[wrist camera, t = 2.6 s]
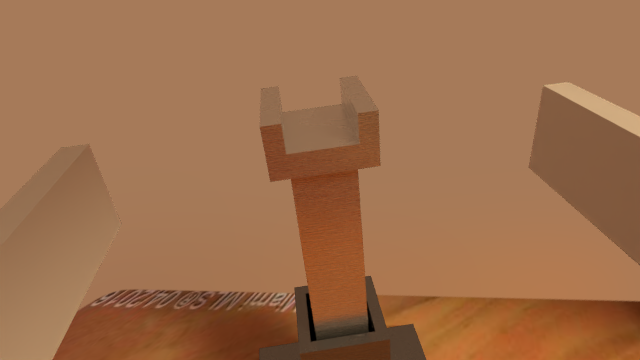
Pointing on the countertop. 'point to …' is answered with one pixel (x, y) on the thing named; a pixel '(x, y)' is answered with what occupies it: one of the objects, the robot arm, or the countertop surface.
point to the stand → (348, 337)
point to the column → (327, 196)
